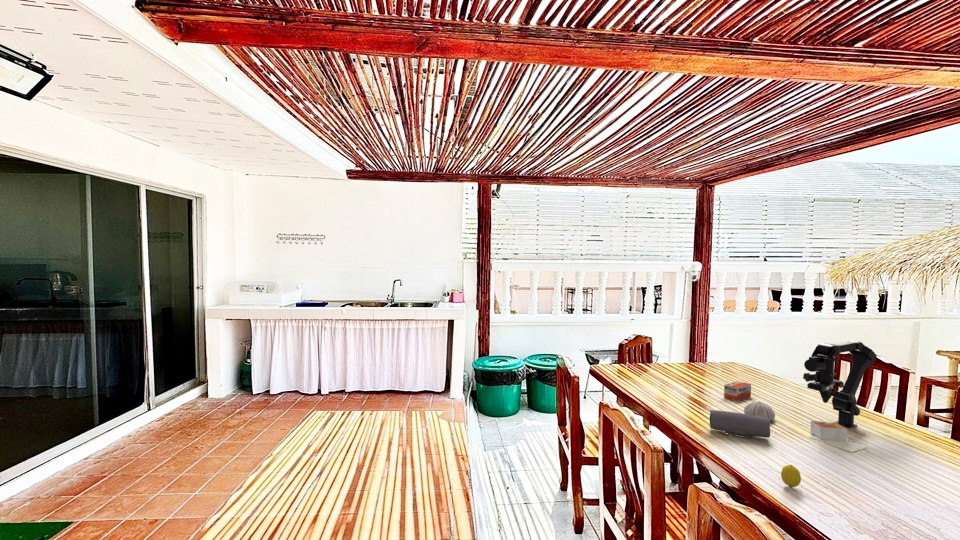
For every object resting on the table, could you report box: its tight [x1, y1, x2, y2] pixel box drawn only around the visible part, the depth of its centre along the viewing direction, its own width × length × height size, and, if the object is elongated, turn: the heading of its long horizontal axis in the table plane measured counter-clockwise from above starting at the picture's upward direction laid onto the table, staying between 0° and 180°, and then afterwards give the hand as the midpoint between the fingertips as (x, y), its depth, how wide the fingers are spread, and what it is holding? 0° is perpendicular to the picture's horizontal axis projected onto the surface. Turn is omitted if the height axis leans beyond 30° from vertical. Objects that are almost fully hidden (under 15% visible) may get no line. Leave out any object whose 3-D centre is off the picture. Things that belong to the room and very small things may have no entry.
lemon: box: [780, 464, 802, 489], centre depth 146 cm, size 6×6×8 cm
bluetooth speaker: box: [709, 409, 771, 439], centre depth 190 cm, size 23×9×10 cm, turn 65°
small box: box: [809, 420, 848, 441], centre depth 189 cm, size 8×6×10 cm
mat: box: [809, 434, 867, 453], centre depth 183 cm, size 11×16×1 cm
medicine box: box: [723, 380, 752, 402], centre depth 244 cm, size 15×8×8 cm, turn 123°
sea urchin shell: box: [743, 401, 776, 422], centre depth 212 cm, size 13×14×8 cm
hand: (825, 402), depth 200 cm, fingers closed
